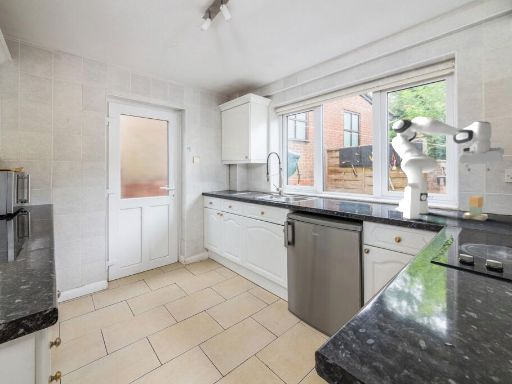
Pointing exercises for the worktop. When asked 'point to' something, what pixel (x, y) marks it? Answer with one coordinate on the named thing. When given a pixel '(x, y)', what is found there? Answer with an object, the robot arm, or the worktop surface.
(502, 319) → the worktop surface
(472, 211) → the sage block
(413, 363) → the worktop surface
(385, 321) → the worktop surface
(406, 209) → the milk
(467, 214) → the base board
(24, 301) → the worktop surface
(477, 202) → the orange block
